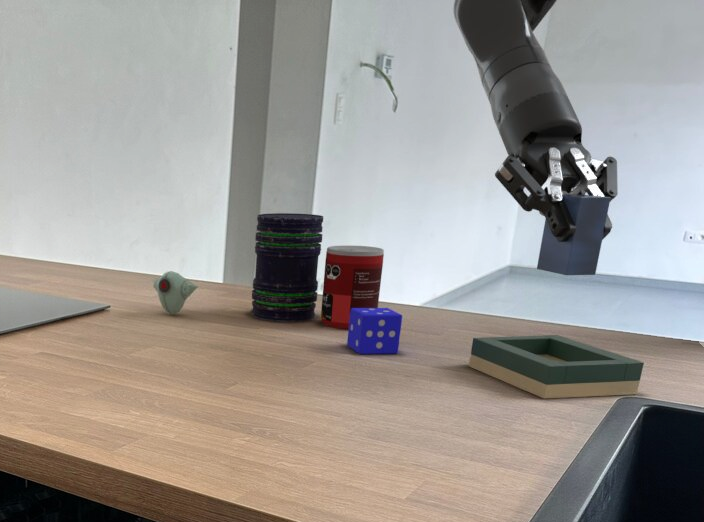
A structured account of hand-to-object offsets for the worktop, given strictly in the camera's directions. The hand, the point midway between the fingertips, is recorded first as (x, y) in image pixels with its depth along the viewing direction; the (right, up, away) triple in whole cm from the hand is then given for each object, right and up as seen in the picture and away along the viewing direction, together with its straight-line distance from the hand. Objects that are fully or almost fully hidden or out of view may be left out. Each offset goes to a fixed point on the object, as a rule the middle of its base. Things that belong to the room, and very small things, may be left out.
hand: (585, 236), depth 90 cm
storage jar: (-23, -2, +42) cm, 48 cm away
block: (0, -3, +3) cm, 5 cm away
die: (-16, -10, +20) cm, 28 cm away
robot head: (-40, -2, +42) cm, 58 cm away
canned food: (-15, -4, +36) cm, 39 cm away
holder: (-1, -15, +7) cm, 16 cm away
